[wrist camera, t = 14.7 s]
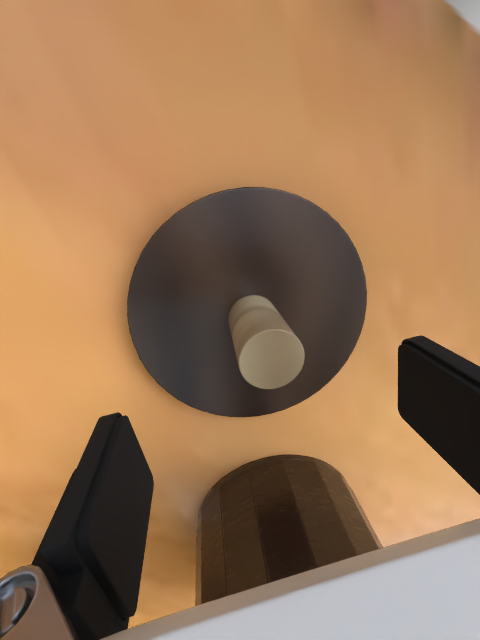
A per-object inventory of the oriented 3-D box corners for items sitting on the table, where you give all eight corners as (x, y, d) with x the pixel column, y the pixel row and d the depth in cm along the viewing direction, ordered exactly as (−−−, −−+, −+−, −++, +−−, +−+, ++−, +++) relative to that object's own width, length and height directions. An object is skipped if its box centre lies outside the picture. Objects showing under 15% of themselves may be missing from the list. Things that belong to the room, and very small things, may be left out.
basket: (217, 581, 29) (224, 747, 20) (179, 478, 24) (166, 640, 15) (354, 544, 29) (421, 690, 20) (345, 437, 24) (429, 568, 15)
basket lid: (169, 427, 22) (156, 514, 16) (94, 218, 16) (29, 223, 10) (362, 380, 22) (424, 446, 16) (351, 164, 17) (438, 139, 11)
